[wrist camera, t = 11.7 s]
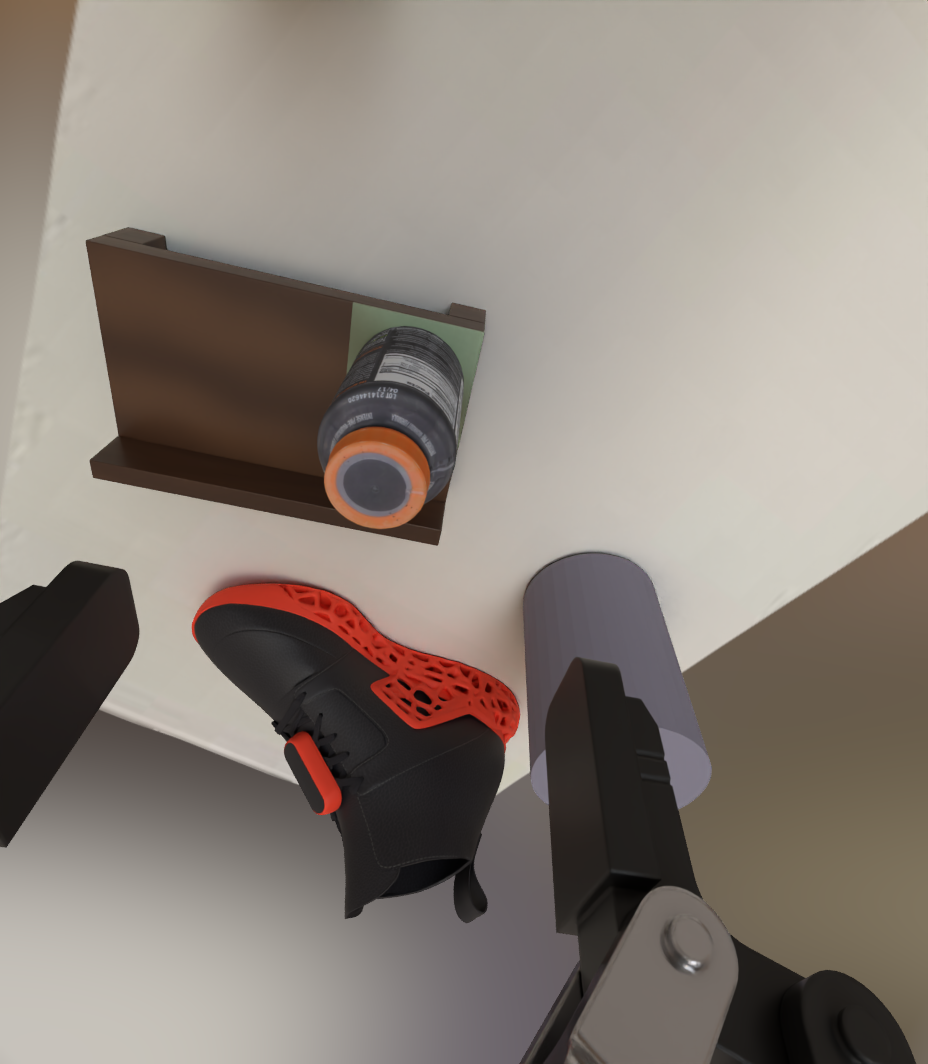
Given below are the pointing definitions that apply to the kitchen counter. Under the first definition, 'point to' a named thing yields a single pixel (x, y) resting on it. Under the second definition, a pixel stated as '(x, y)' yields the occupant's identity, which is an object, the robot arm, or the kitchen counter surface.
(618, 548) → the kitchen counter surface
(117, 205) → the kitchen counter surface
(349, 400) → the pill bottle
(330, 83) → the kitchen counter surface
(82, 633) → the robot arm
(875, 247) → the kitchen counter surface
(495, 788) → the high-top sneaker
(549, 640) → the purple-gray cylinder
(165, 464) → the shelf
